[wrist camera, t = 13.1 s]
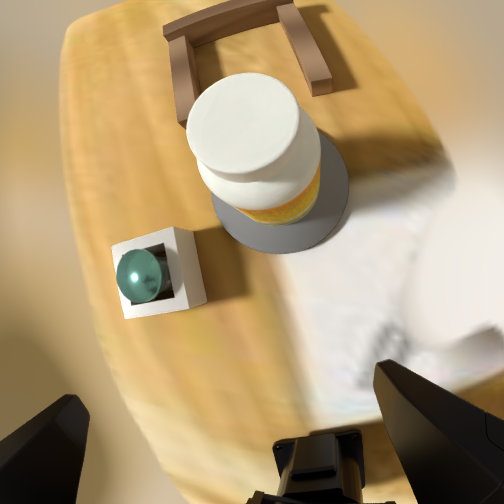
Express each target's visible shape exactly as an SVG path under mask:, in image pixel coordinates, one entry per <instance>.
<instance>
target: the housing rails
mask: <svg viewBox="0 0 504 504" xmlns="http://www.w3.org/2000/svg"><path fill="white" fill-rule="evenodd" d="M275 22H280V23H281V25H282V27H283V29H284V31H285V33H286V35H287V38H288V40H289V42H290V44H291V46H292V49H293V51H294V53H295V55H296V58H297V60H298V62H299V65H300V67H301V69H302V72H303V74H304V77H305V79H306V82H307V84H308V87H309V89H310V92H311V94H312V97H313V96H317V95H322V94H327V93H332V75H331V73H330V71H329V69H328V67H327V65H326V63H325V61H324V58H323V56H322V54H321V52H320V50H319V48H318V46H317V44H316V42H315V40H314V39H313V37H312V35H311V33H310V31H309V29H308V27H307V25H306V24H305V22H304V20H303V18H302V16H301V15H300V13H299V11H298V9H297V8H296V6H295V4H294V2H293V0H230V1H227V2H224V3H220V4H217V5H214V6H212V7H209V8H206V9H203V10H200V11H198V12H195V13H192V14H190V15H187V16H185V17H182V18H180V19H178V20H175V21H173V22H171V23H168V24H166V25H164V26H163V36H164V37H165V38H166V40H167V41H168V42H169V53H170V63H171V72H172V81H173V89H174V97H175V105H176V113H177V120H178V123H179V124H180V125H181V126H182V127H183V128H185V129H187V121H188V117H189V113H190V111H191V109H192V107H193V105H194V103H195V102H196V100H197V99H198V98H199V96H200V95H201V89H200V83H199V78H198V72H197V67H196V61H195V56H194V50H193V48H195V47H197V46H200V45H203V44H205V43H208V42H211V41H214V40H217V39H219V38H222V37H225V36H229V35H232V34H235V33H238V32H241V31H245V30H248V29H252V28H256V27H259V26H263V25H267V24H271V23H275Z"/></svg>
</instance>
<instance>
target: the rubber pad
mask: <svg viewBox="0 0 504 504" xmlns="http://www.w3.org/2000/svg"><path fill="white" fill-rule="evenodd" d="M318 134H319V138H320V146H321V159H320V161H321V162H320V187H319V193H318V197H317V200H316V202H315V204H314V205H313V207H312V208H311V210H310V211H309V212H308V213H307V214H306V215H305V216H304V217H302V218H301V219H299V220H298V221H295V222H293V223H290V224H287V225H282V226H269V225H264V224H261V223H258V222H256V221H254V220H253V219H251V218H250V217H248V216H247V215H245V214H243V213H242V212H240V211H239V210H237V209H236V208H234V207H233V206H231V205H229V204H228V203H226V202H224V201H223V200H221V199H220V198H218V197H217V196H216V195H215V194H214V193H213V192H212V191H211V194H212V202H213V205H214V209H215V212H216V214H217V217H218V218H219V220H220V222H221V224H222V225H223V226H224V228H225V229H226V230H227V232H228V233H229V234H230V235H232V236H233V237H234V238H235V239H236V240H238V241H239V242H240V243H242V244H244V245H245V246H247V247H249V248H252V249H254V250H257V251H261V252H265V253H271V254H288V253H294V252H298V251H301V250H305V249H307V248H309V247H311V246H313V245H315V244H316V243H318V242H320V241H321V240H322V239H323V238H325V237H326V236H327V235H328V234H329V233H330V232H331V231H332V230H333V228H334V227H335V226H336V224H337V223H338V221H339V220H340V218H341V216H342V214H343V212H344V209H345V206H346V203H347V198H348V191H349V181H348V173H347V169H346V166H345V163H344V161H343V158H342V156H341V155H340V153H339V151H338V150H337V148H336V147H335V146H334V144H333V143H332V142H331V141H330V140H329V139H328V138H327V137H326V136H324V135H323V134H322V133H320V132H319V131H318Z"/></svg>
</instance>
